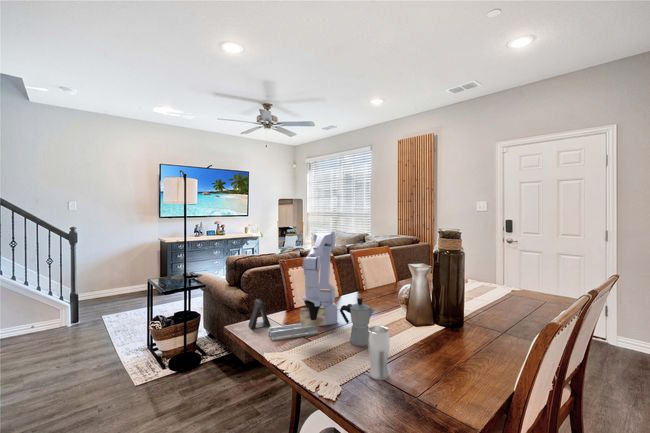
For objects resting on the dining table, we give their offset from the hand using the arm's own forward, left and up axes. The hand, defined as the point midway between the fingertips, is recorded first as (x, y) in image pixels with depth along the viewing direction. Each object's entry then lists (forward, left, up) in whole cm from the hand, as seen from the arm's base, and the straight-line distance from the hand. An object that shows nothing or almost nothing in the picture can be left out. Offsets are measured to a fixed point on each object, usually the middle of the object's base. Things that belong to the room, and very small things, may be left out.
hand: (312, 318), depth 124 cm
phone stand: (+19, -25, -10) cm, 33 cm away
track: (+6, -11, -9) cm, 16 cm away
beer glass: (-13, +32, -10) cm, 36 cm away
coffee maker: (-17, +7, -10) cm, 21 cm away
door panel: (0, 0, -3) cm, 3 cm away
